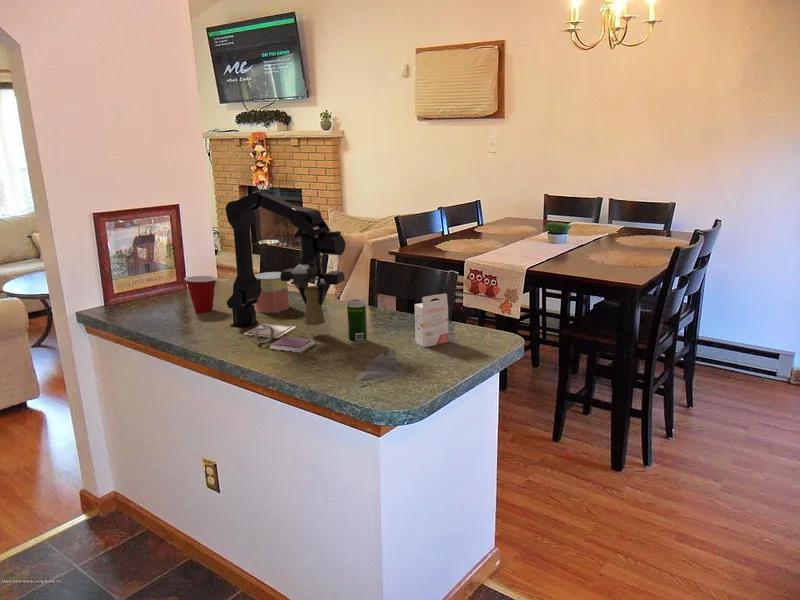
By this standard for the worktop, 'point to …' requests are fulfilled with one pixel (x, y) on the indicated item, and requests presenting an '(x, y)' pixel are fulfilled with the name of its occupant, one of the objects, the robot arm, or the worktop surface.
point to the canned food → (272, 293)
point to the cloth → (381, 369)
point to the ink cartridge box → (431, 321)
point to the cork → (313, 306)
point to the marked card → (278, 331)
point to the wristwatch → (263, 329)
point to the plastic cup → (201, 292)
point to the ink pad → (292, 344)
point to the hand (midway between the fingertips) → (313, 304)
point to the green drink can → (357, 321)
